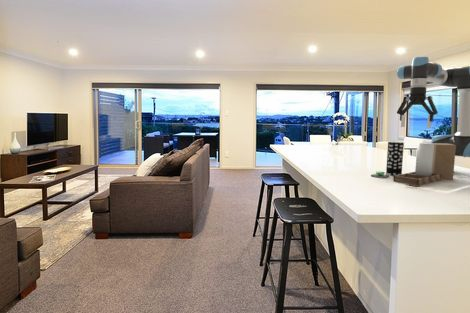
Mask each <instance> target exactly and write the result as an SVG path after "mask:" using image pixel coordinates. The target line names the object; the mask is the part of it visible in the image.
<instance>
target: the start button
mask: <svg viewBox="0 0 470 313" xmlns="http://www.w3.org/2000/svg"><path fill="white" fill-rule="evenodd" d="M375 174H378V175H385V174H386V171H380V170H379V171H375Z"/></svg>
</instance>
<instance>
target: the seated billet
mask: <svg viewBox="0 0 470 313" xmlns="http://www.w3.org/2000/svg"><path fill="white" fill-rule="evenodd" d="M433 153H434V143H431V142H417V143H416V155H415V156H416V157H415V158H416V159H415V171H414V172H415V175H422V176H432V165H433Z"/></svg>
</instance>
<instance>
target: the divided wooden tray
mask: <svg viewBox="0 0 470 313" xmlns="http://www.w3.org/2000/svg"><path fill="white" fill-rule="evenodd" d="M392 181H393V182H396V183H401V184H402V183H403V184H406V186H408V187H413V188H420V187H421V186H424V185H428V184H431V183H436V182H440V181H442V180H441V174H434V173H432V176H422V175H415V171H410V172H405V173H402V174H400V175H395V176H393V179H392Z"/></svg>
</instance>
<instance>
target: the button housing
mask: <svg viewBox="0 0 470 313" xmlns="http://www.w3.org/2000/svg"><path fill="white" fill-rule="evenodd" d="M370 177H372V178H379V179H385V178H390V175H386V174H384V175H378V174H376V173H373V174H371V175H370Z"/></svg>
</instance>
